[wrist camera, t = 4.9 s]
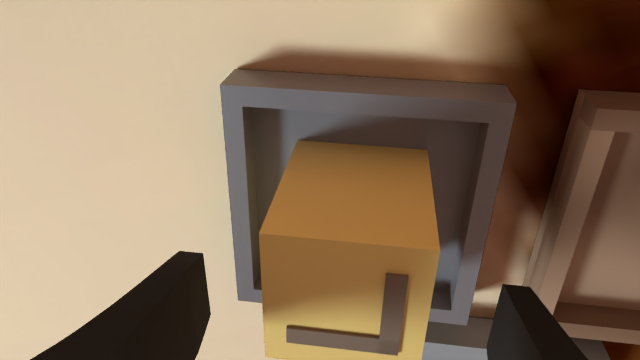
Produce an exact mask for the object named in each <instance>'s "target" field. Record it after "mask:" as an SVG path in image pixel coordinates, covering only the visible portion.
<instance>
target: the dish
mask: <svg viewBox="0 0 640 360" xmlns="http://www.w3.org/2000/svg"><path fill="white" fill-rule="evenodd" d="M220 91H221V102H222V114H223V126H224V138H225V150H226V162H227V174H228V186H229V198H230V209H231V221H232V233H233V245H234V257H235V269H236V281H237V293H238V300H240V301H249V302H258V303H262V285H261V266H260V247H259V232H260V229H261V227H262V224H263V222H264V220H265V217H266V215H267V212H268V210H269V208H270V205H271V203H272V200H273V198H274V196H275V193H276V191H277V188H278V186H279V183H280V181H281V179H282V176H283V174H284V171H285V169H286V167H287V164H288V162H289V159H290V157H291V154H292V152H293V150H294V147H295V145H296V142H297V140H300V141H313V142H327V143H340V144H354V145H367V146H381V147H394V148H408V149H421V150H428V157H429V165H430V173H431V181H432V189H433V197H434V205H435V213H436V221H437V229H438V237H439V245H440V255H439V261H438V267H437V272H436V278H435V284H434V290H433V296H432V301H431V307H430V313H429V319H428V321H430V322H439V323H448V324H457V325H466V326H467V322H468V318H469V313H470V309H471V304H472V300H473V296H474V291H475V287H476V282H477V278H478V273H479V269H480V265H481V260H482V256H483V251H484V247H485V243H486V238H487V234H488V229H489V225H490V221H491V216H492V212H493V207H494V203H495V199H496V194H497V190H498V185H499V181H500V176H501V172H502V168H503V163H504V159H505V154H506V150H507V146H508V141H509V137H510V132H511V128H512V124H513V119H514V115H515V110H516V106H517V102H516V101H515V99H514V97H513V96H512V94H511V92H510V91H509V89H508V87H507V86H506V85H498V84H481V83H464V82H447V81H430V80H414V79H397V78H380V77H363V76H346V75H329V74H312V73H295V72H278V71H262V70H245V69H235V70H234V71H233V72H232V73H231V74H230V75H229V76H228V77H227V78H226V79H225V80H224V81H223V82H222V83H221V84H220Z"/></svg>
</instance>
